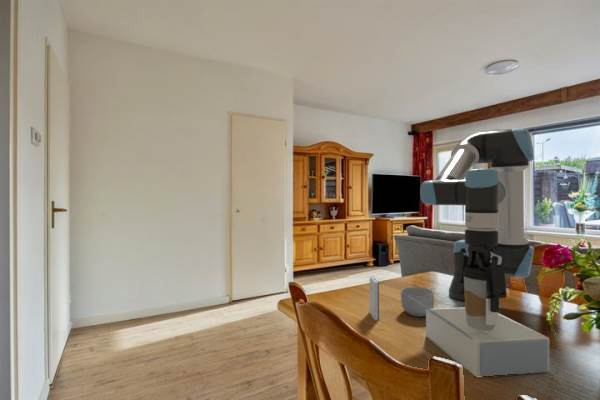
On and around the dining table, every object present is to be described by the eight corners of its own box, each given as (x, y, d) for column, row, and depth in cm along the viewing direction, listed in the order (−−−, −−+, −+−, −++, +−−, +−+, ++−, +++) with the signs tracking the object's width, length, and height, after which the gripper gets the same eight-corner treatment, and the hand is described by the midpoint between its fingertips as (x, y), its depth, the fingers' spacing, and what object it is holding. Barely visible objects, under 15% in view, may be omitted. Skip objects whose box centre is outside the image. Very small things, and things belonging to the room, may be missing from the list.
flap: (408, 294, 93) (407, 295, 93) (448, 321, 73) (447, 322, 73) (427, 308, 94) (427, 309, 94) (473, 338, 74) (472, 339, 74)
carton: (484, 332, 98) (484, 305, 98) (554, 374, 75) (554, 339, 75) (424, 335, 96) (425, 308, 96) (478, 380, 72) (478, 343, 72)
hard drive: (373, 311, 116) (373, 276, 116) (379, 320, 108) (379, 282, 108) (369, 311, 116) (369, 276, 116) (374, 320, 108) (374, 282, 107)
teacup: (436, 320, 108) (436, 296, 108) (402, 318, 110) (402, 294, 110) (428, 306, 121) (429, 284, 121) (398, 304, 124) (398, 283, 124)
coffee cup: (507, 330, 82) (507, 270, 82) (480, 334, 80) (480, 272, 80) (480, 318, 90) (480, 264, 90) (455, 322, 88) (455, 265, 88)
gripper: (445, 226, 95) (444, 305, 95) (496, 233, 74) (495, 335, 74) (469, 225, 95) (469, 304, 96) (526, 233, 75) (525, 333, 75)
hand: (480, 318), depth 85 cm, fingers closed on coffee cup, 7 cm apart
